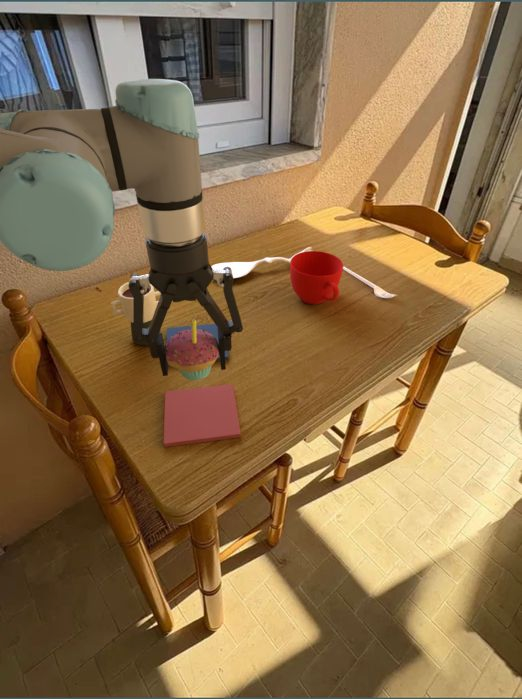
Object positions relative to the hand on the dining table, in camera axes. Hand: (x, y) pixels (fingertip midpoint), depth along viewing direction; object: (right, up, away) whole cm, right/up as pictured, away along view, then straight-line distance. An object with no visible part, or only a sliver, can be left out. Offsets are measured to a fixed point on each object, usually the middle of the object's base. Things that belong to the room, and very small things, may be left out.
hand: (194, 366), depth 62 cm
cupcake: (0, -1, +1) cm, 1 cm away
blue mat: (-3, +4, +23) cm, 23 cm away
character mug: (-15, +5, +24) cm, 29 cm away
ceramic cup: (+25, +15, +37) cm, 47 cm away
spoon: (+12, +26, +49) cm, 56 cm away
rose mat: (0, -9, +8) cm, 12 cm away
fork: (+40, +21, +43) cm, 62 cm away
